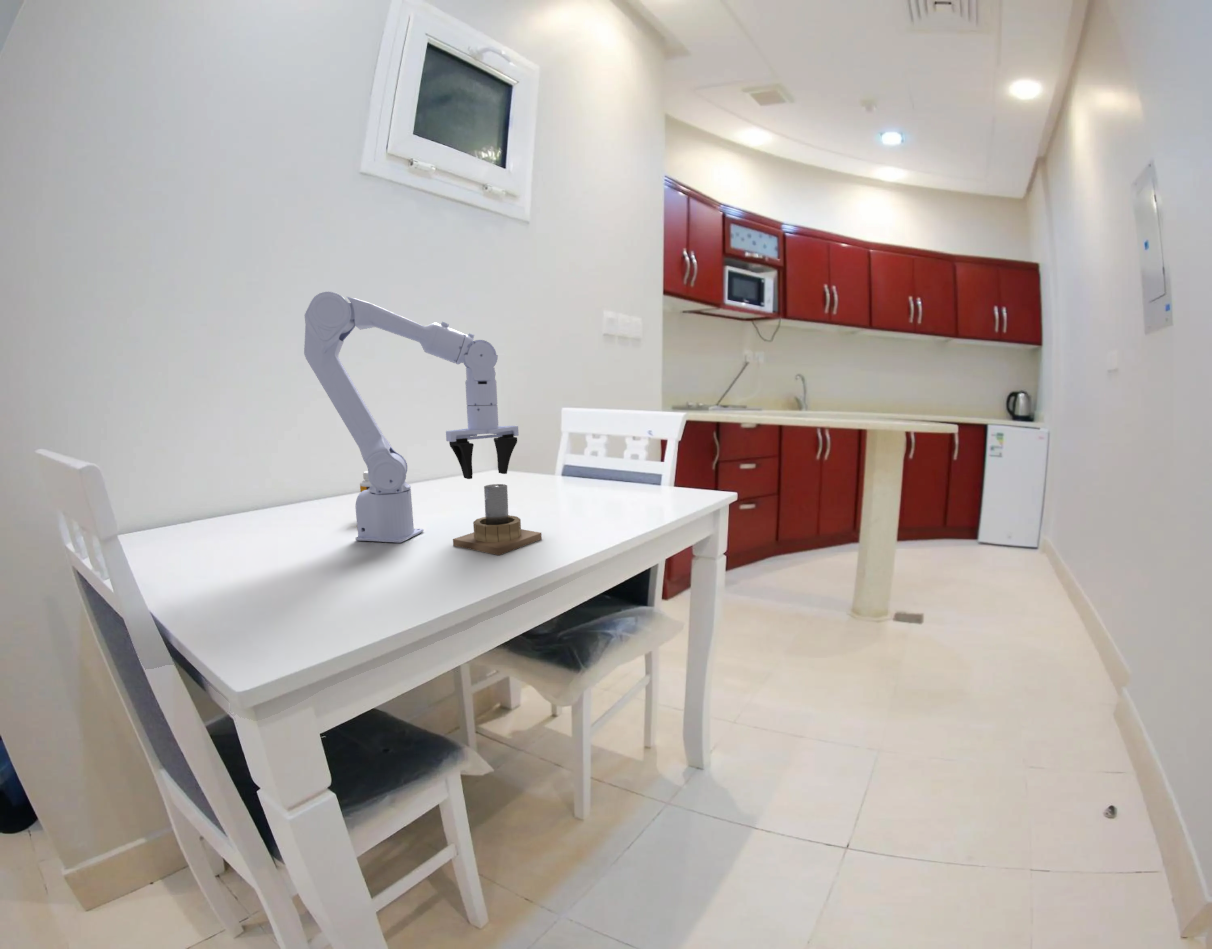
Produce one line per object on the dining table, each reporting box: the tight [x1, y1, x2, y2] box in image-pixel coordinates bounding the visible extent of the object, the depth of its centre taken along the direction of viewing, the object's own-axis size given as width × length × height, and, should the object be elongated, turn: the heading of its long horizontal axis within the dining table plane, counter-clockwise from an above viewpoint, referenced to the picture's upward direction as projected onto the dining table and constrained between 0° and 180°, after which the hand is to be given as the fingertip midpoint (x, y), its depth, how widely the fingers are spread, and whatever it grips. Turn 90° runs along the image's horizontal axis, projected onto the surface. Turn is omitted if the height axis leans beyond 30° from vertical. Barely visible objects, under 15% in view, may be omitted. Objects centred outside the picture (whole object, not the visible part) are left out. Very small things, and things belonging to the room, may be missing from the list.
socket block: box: [452, 514, 543, 556], centre depth 100 cm, size 11×11×4 cm
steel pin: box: [483, 483, 509, 525], centre depth 99 cm, size 4×4×9 cm
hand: (485, 475), depth 109 cm, fingers open, 7 cm apart
